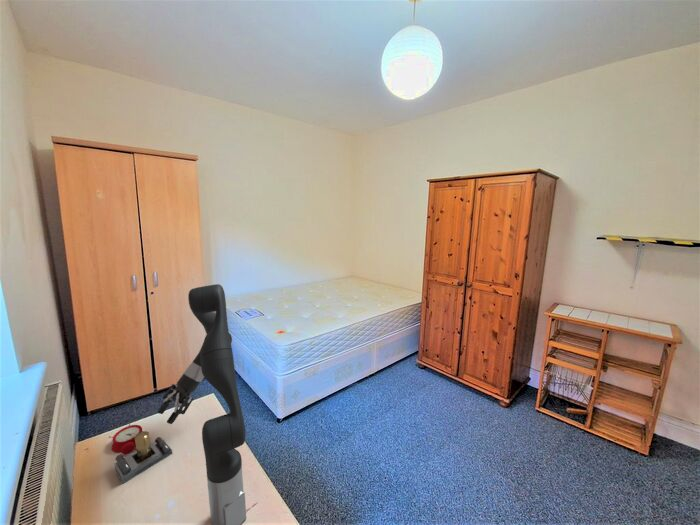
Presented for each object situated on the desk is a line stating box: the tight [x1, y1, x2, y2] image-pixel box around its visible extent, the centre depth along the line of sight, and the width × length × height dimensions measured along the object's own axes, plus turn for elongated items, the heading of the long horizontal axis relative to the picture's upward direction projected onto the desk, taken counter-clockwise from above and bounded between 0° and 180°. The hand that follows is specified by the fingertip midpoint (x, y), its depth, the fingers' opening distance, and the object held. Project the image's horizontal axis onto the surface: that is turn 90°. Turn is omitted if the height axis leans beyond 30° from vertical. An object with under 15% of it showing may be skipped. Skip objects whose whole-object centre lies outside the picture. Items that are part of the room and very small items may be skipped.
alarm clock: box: [108, 424, 143, 455], centre depth 110 cm, size 10×6×15 cm
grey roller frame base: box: [113, 436, 173, 484], centre depth 102 cm, size 9×15×5 cm, turn 143°
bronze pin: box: [135, 430, 152, 464], centre depth 102 cm, size 4×4×11 cm
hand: (164, 418), depth 106 cm, fingers open, 8 cm apart
